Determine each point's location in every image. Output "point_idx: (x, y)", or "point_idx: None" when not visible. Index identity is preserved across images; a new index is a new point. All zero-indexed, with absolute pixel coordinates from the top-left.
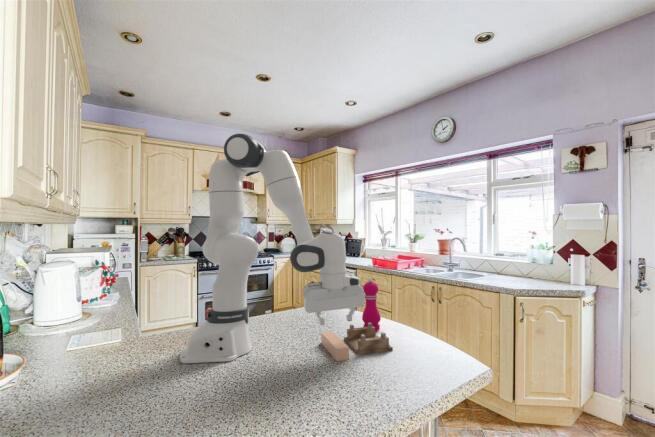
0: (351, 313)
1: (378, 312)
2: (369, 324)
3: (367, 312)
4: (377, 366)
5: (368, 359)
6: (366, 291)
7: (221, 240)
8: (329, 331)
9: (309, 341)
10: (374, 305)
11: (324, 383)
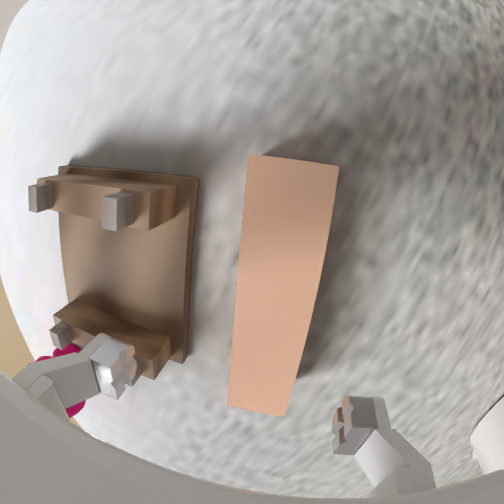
0: (68, 366)
1: None
2: (59, 335)
3: None
4: (184, 41)
5: (178, 114)
6: None
7: None
8: (241, 407)
9: (322, 410)
10: None
11: (452, 28)
